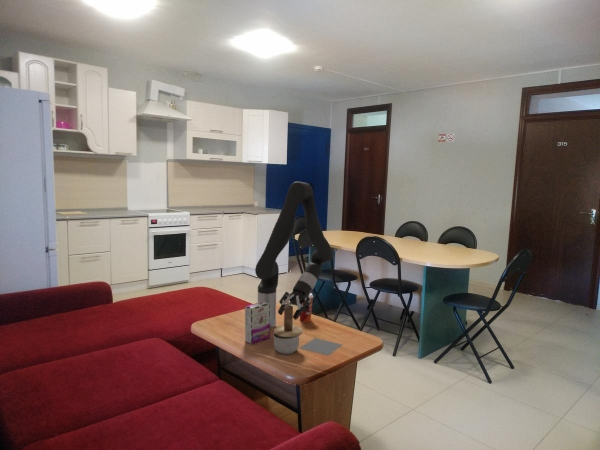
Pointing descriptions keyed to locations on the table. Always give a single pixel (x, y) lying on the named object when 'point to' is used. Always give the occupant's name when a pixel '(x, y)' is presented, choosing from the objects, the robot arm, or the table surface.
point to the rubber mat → (321, 346)
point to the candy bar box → (257, 322)
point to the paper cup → (307, 315)
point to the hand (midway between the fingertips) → (286, 316)
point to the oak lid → (288, 325)
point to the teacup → (286, 344)
